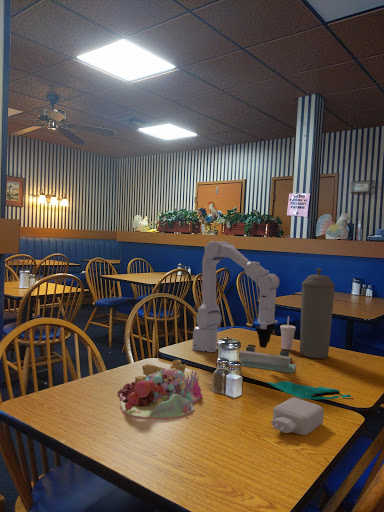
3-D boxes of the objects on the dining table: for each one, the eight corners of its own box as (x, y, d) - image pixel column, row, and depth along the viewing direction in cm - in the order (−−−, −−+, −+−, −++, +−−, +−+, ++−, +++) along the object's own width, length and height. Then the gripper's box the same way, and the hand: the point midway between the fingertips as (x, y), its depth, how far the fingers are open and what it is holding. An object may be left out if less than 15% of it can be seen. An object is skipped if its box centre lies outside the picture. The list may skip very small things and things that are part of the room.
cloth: (257, 389, 125) (258, 381, 125) (275, 377, 137) (275, 370, 136) (345, 413, 111) (345, 404, 110) (356, 397, 122) (357, 390, 122)
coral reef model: (112, 386, 121) (113, 356, 120) (188, 381, 128) (189, 352, 127) (125, 425, 97) (126, 387, 96) (217, 416, 104) (218, 380, 104)
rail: (238, 361, 149) (238, 352, 148) (239, 359, 151) (240, 350, 151) (288, 368, 143) (289, 358, 143) (289, 366, 146) (289, 356, 146)
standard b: (276, 361, 153) (277, 351, 152) (278, 356, 158) (279, 347, 158) (290, 363, 151) (291, 353, 151) (291, 358, 157) (292, 349, 157)
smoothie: (278, 350, 168) (280, 316, 167) (279, 346, 174) (281, 314, 173) (294, 352, 166) (296, 318, 165) (294, 348, 172) (296, 315, 172)
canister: (334, 361, 156) (340, 270, 155) (301, 359, 157) (307, 269, 155) (324, 351, 169) (330, 268, 167) (294, 350, 169) (299, 266, 168)
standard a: (242, 356, 157) (243, 347, 156) (245, 352, 162) (246, 343, 162) (255, 358, 155) (256, 349, 155) (258, 354, 161) (258, 345, 161)
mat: (231, 364, 146) (231, 363, 146) (236, 357, 155) (236, 356, 155) (293, 373, 140) (293, 372, 140) (295, 365, 148) (295, 364, 148)
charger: (259, 432, 96) (289, 413, 108) (294, 446, 90) (322, 425, 101) (260, 412, 96) (290, 395, 107) (296, 426, 90) (324, 406, 101)
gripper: (275, 312, 138) (273, 351, 139) (280, 305, 152) (277, 341, 153) (255, 309, 140) (252, 348, 141) (261, 303, 154) (259, 339, 155)
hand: (264, 344), depth 147 cm, fingers open, 7 cm apart
